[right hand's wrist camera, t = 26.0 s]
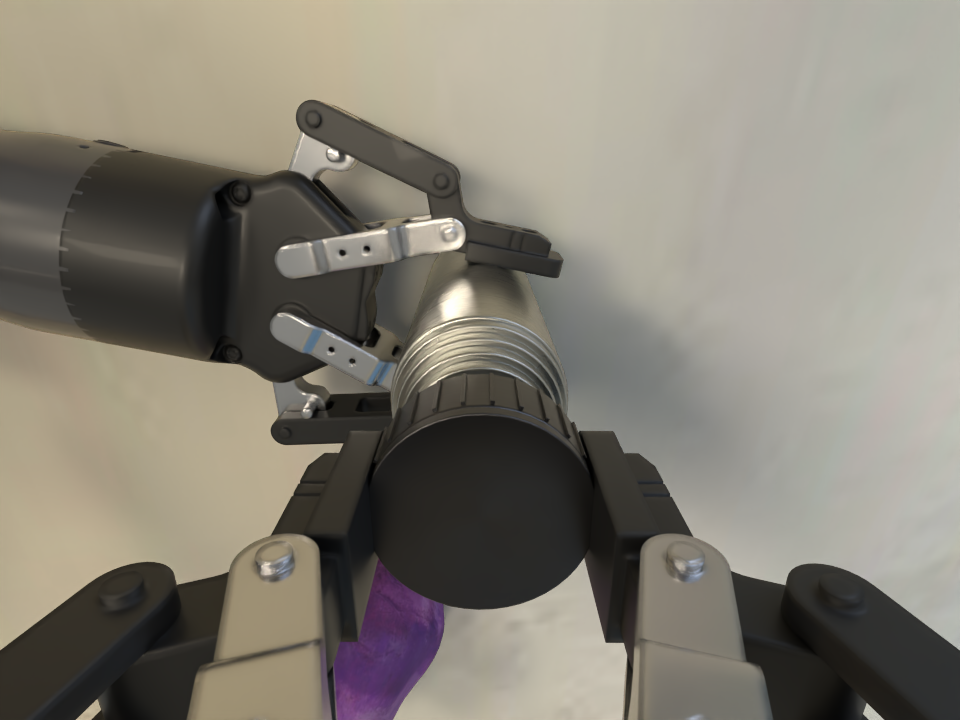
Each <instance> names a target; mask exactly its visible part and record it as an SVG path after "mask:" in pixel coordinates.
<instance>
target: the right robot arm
mask: <svg viewBox="0 0 960 720" xmlns="http://www.w3.org/2000/svg"><path fill="white" fill-rule="evenodd" d="M383 432H384V431H350V432H349V433H348V435H347V437H346V439H345V442H344V444H343V446H342V448H341V450H340V453H324V454H323V455H321V456H320V457H319V458H318V459H316V460H315V461H314V462H312V463H311V464H310V465H309V466H308V467H307V469H306V471H305V473H304V475H303V476H302V478H301V480H300V484H298V486H297V488H296V490H295V491H294V495H293V496H292V497H291V499H290V501H289V503H288V504H287V506H286V508H285V510H284V512H283V514H282V516H281V518H280V519H279V521H278V523H277V525H276V527H275V529H274V531H273V533H272V534H271V536H269V537H266V538H263V539H260V540H258V541H256V542H254V543H252V544H251V545H249V546H247V547H246V548H245V549H243V550H242V551H241V552H240V553H239V554H238V555H237V556H236V557H235V559H234V560H233V562H232V564H231V566H230V570H229V572H227V573H225V574H222V575H218V576H215V577H210V578H206V579H202V580H197V581H193V582H188V583H184V584H179V585H177V584H176V580H175V576H174V573H173V571H172V570H171V569H170V568H169V567H168V566H166V565H164V564H161V563H156V562H141V563H134V564H130V565H126V566H122V567H120V568H117V569H114V570H112V571H110V572H107V573H105V574H103V575H102V576H100V577H98V578H96V579H95V580H93V581H92V582H90V583H89V584H88V585H86V586H85V587H84V588H82V589H81V590H80V591H78V592H77V593H76V594H74V595H73V596H72V597H70V598H69V599H68V600H66V601H65V602H64V603H62V604H61V605H60V606H58V607H57V608H56V609H54V610H53V611H52V612H51V613H49V614H48V615H47V616H45V617H44V618H43V619H41V620H40V621H39V622H37V623H36V624H35V625H33V626H32V627H31V628H29V629H28V630H27V631H25V632H24V633H23V634H21V635H20V636H19V637H17V638H16V639H15V640H13V641H12V642H11V643H9V644H8V645H7V646H6V647H4V648H3V649H2V650H0V720H76V719H77V718H78V717H79V716H80V715H81V714H82V713H83V712H84V711H85V710H86V709H87V708H88V707H89V706H90V705H91V704H92V703H93V702H94V701H95V700H96V699H98V702H99V705H100V708H101V711H100V712H99V713H98V714H97V715H96V716H95V717H94V718H93V719H92V720H338V718H337V701H336V683H335V671H334V661H335V658H336V654H337V651H338V647H339V644H340V642H358V640H359V636H360V632H361V627H362V623H363V619H364V615H365V611H366V607H367V603H368V599H369V595H370V591H371V587H372V582H373V578H374V574H375V570H376V566H377V562H378V557H377V555H376V554H375V552H374V547H373V535H372V523H371V510H370V498H369V482H370V479H371V476H372V473H373V470H374V467H375V464H374V463H373V461H374V458H375V455H376V452H377V449H378V446H379V443H380V440H381V437H382V434H383ZM578 434H579V436H580V439H581V442H582V445H583V448H584V451H585V454H586V457H587V458H585V460H586V463H587V466H588V469H589V472H590V475H591V477H592V480H593V484H594V500H593V512H592V524H591V536H590V547H589V550H588V551H587V553H586V555H585V557H584V558H585V562H586V566H587V570H588V574H589V578H590V582H591V586H592V590H593V594H594V598H595V602H596V606H597V610H598V614H599V618H600V622H601V626H602V630H603V634H604V638H605V642H606V643H624V645H625V649H626V652H627V663H626V671H625V683H624V701H623V718H622V720H868V719H867V718H866V717H865V716H864V715H863V712H864V709H865V706H866V703H868V704H869V705H870V706H871V707H872V708H873V709H874V710H875V711H876V712H877V713H878V714H879V715H880V716H881V717H882V718H883V719H884V720H960V650H958V649H957V648H956V647H954V646H953V645H952V644H951V643H949V642H948V641H947V640H945V639H944V638H943V637H941V636H940V635H939V634H937V633H936V632H935V631H933V630H932V629H931V628H929V627H928V626H927V625H925V624H924V623H923V622H921V621H920V620H919V619H917V618H916V617H915V616H913V615H912V614H911V613H910V612H908V611H907V610H906V609H904V608H903V607H902V606H900V605H899V604H898V603H896V602H895V601H894V600H892V599H891V598H890V597H888V596H887V595H886V594H884V593H883V592H882V591H880V590H879V589H878V588H876V587H875V586H874V585H872V584H871V583H869V582H868V581H866V580H865V579H863V578H861V577H859V576H858V575H856V574H853V573H851V572H849V571H846V570H844V569H841V568H838V567H834V566H830V565H824V564H804V565H800V566H797V567H795V568H794V569H792V570H791V571H790V573H789V575H788V577H787V581H786V585H781V584H777V583H773V582H768V581H764V580H759V579H755V578H751V577H747V576H743V575H740V574H737V573H735V572H732V571H731V570H730V566H729V564H728V562H727V560H726V559H725V557H724V556H723V555H722V554H721V553H720V552H719V551H718V550H717V549H715V548H714V547H713V546H711V545H709V544H708V543H706V542H704V541H702V540H700V539H697V538H694V537H693V535H692V533H691V532H690V530H689V528H688V526H687V524H686V522H685V521H684V519H683V517H682V515H681V513H680V511H679V510H678V508H677V506H676V504H675V502H674V500H673V499H672V497H670V493H669V491H668V489H667V487H666V486H665V484H663V480H662V478H661V476H660V475H659V473H658V471H657V469H656V467H655V466H654V465H653V464H651V463H650V462H649V461H647V460H646V459H645V458H644V457H642V456H641V455H640V454H638V453H623V450H622V448H621V446H620V444H619V442H618V440H617V438H616V435H615V433H614V432H613V431H579V433H578Z"/></svg>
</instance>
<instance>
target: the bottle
mask: <svg viewBox="0 0 960 720" xmlns="http://www.w3.org/2000/svg"><path fill="white" fill-rule="evenodd" d="M465 373H467V375H476V374H487V375H489V373H493V375H498V376H503V377H508V378H512V379H515V378H519V381H521V382H524V383H526V384H528V385H530V386H532V387H534V388H536V389H539V388H540V389H542V390H543V393H544V394H545V395H547V396H548V397H549V398H550V399H552V400H553V401H554V402H555V403H556V404H559V403H560V404H561V406H562V409H563V412H564V413H565V414H566V415H567V410H568V387H567V380H566V377H565V373H564V370H563V367H562V365H561V362H560V360H559V357H558V355H557V352H556V349H555V347H554V344H553V342H552V339H551V337H550V334H549V332H548V329H547V327H546V324H545V322H544V319H543V316H542V314H541V311H540V309H539V306H538V304H537V301H536V299H535V296H534V294H533V291H532V289H531V286H530V283H529V281H528V278H527V276H526V273H525V272H521V271H516V270H511V269H506V268H501V267H497V266H493V265H488V264H481V263H476V262H471V261H466V260H465V253H460V252H455V251H447V252H441V253H440V254H439V255H438V257H437V259H436V260H435V262H434V264H433V266H432V269H431V272H430V275H429V278H428V280H427V283H426V286H425V289H424V291H423V294H422V297H421V300H420V303H419V305H418V308H417V311H416V314H415V317H414V319H413V322H412V325H411V328H410V330H409V333H408V336H407V339H406V342H405V344H404V347H403V350H402V353H401V356H400V358H399V361H398V364H397V367H396V370H395V373H394V376H393V379H392V385H391V410H392V418H394V417H395V414H396V411H397V409H398V408H399V407H400V408H402V407H403V406H404V405H405V404H406V403H407V402H408V401H409V400H410V399H412V398H413V397H414V394H415V393H416V392H417V391H418V392H421V391H423V390H424V389H426V388H428V387H429V386H432V385H434V384H436V383H437V381H438V380H441V381H444V380H447V379H450V378H454V377H459V376H462V375H463V374H465Z"/></svg>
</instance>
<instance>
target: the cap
mask: <svg viewBox="0 0 960 720" xmlns="http://www.w3.org/2000/svg"><path fill="white" fill-rule="evenodd" d="M585 458H587V457H586V454H585V451H584V448H583V445H582V442H581V439H580V436H579V434H578V431H577V428H576V425H575V423H574V422H572V423H571V422H570V420H569V419H568V417H567V415H566V414H565V413H564V412H563V409H562V406H561V404H560V403H559V404H556V403H555V402H554V401H553V400H552V399H550V398H549V397H548V396H547V395H545V394H544V393H543V390H542V389H540V388H539V389H536V388H534V387H532V386H530V385H528V384H526V383H524V382H521V381H519V378H515V379H512V378H508V377H503V376H498V375H493V373H489V375H487V374H476V375H467V373H465V374H463V375H462V376H459V377H454V378H450V379H447V380H444V381H441V380H438V381H437V383H436V384H434V385H432V386H429V387H428V388H426V389H424V390H423V391H421V392H418V391H417V392H416V393H415V394H414V397H413V398H412V399H410V400H409V401H408V402H407V403H406V404H405V405H404V406H403V407H402V408H400V407H399V408H398V409H397V411H396V414H395V417H394V418H393V420H392V421H391V423H390V425H389V427H385V429H384V432H383V434H382V437H381V440H380V443H379V446H378V449H377V452H376V455H375V458H374V461H373V463H374V464H375V467H374V470H373V473H372V476H371V479H370V482H369V498H370V510H371V523H372V535H373V547H374V552H375V554H376V555H377V557H378V558H379V560H380V561H381V563H382V564H383V565H384V566H385V568H386V569H387V570H388V571H389V572H390V573H391V574H392V575H393V576H394V577H395V578H396V579H397V580H398V581H399V582H400V583H402V584H403V585H405V586H406V587H408V588H409V589H410V590H412V591H414V592H415V593H417V594H419V595H421V596H423V597H425V598H427V599H430V600H432V601H435V602H438V603H441V604H445V605H448V606H452V607H458V608H464V609H478V610H480V609H497V608H504V607H509V606H514V605H518V604H521V603H524V602H527V601H530V600H532V599H535V598H537V597H539V596H541V595H543V594H545V593H547V592H548V591H550V590H552V589H553V588H555V587H556V586H558V585H559V584H560V583H561V582H563V581H564V580H565V579H566V578H567V577H568V576H569V575H570V574H571V573H572V572H573V571H574V570H575V569H576V568H577V567H578V565H579V564H580V563H581V561H582V560H583V558H584V557H585V555H586V553H587V551H588V550H589V547H590V536H591V524H592V512H593V500H594V484H593V480H592V477H591V475H590V472H589V469H588V466H587V463H586V460H585Z"/></svg>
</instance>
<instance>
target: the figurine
mask: <svg viewBox="0 0 960 720" xmlns="http://www.w3.org/2000/svg"><path fill="white" fill-rule="evenodd" d="M443 631H444V610H443V604H441V603H438V602H435V601H432V600H430V599H427V598H425V597H423V596H421V595H419V594H417V593H415V592H414V591H412V590H410V589H409V588H408V587H406V586H405V585H403V584H402V583H400V582H399V581H398V580H397V579H396V578H395V577H394V576H393V575H392V574H391V573H390V572H389V571H388V570H387V569H386V568H385V566H384V565H383V564H382V563H381V561H380V560H379V558H378V562H377V566H376V570H375V574H374V578H373V582H372V587H371V591H370V595H369V599H368V603H367V607H366V611H365V615H364V619H363V623H362V627H361V632H360V636H359V640H358V642H340V644H339V647H338V651H337V654H336V658H335V661H334V671H335V683H336V701H337V718H338V720H393V718H394V717H395V715H396V713H397V711H398V709H399V707H400V705H401V703H402V702H403V700H404V699H405V697H406V696H407V695H408V693H409V692H410V691H411V689H412V688H413V687H414V685H415V684H416V683H417V681H418V680H419V679H420V678H421V676H422V675H423V674H424V673H425V671H426V670H427V668H428V667H429V665H430V664H431V662H432V661H433V659H434V657H435V655H436V653H437V651H438V649H439V646H440V643H441V639H442V636H443Z"/></svg>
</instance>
